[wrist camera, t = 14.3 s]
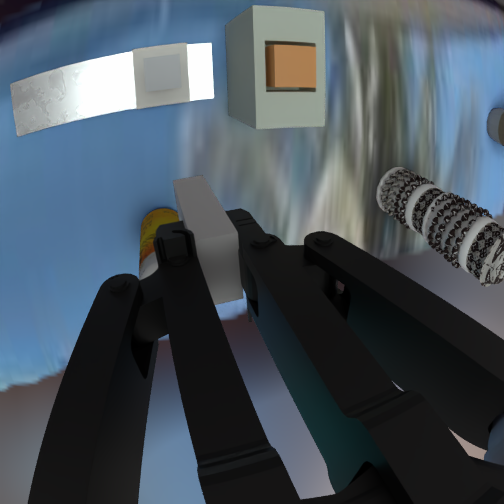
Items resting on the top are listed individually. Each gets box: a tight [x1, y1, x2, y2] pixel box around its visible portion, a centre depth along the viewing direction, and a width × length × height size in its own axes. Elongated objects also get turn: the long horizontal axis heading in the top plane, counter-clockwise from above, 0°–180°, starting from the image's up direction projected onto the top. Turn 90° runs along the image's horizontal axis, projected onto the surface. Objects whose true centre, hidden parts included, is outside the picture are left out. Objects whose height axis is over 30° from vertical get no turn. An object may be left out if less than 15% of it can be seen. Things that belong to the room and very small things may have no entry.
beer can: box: [139, 208, 179, 280], centre depth 37 cm, size 6×6×15 cm
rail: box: [10, 43, 214, 137], centre depth 31 cm, size 25×7×2 cm, turn 92°
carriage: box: [132, 43, 190, 109], centre depth 27 cm, size 6×7×11 cm
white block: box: [225, 5, 325, 129], centre depth 31 cm, size 7×12×12 cm, turn 2°
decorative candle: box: [376, 167, 504, 287], centre depth 41 cm, size 9×9×25 cm
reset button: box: [265, 45, 316, 88], centre depth 27 cm, size 4×4×5 cm
